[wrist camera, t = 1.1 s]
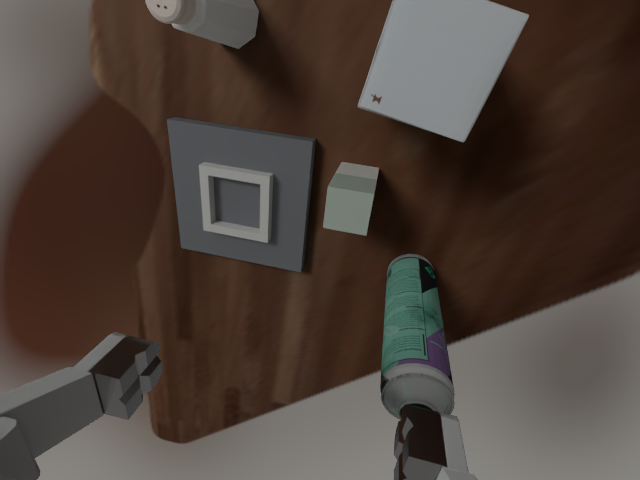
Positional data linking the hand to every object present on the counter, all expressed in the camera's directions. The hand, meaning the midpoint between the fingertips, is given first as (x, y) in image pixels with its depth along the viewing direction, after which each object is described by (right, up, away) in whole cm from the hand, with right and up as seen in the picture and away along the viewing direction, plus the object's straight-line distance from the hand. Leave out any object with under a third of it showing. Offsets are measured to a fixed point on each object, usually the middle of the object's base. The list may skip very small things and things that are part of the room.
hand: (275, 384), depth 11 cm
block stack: (+6, +11, +26) cm, 29 cm away
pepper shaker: (-7, +26, +21) cm, 34 cm away
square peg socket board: (-8, +10, +30) cm, 32 cm away
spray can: (+12, +1, +30) cm, 32 cm away
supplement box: (+11, +21, +20) cm, 30 cm away
